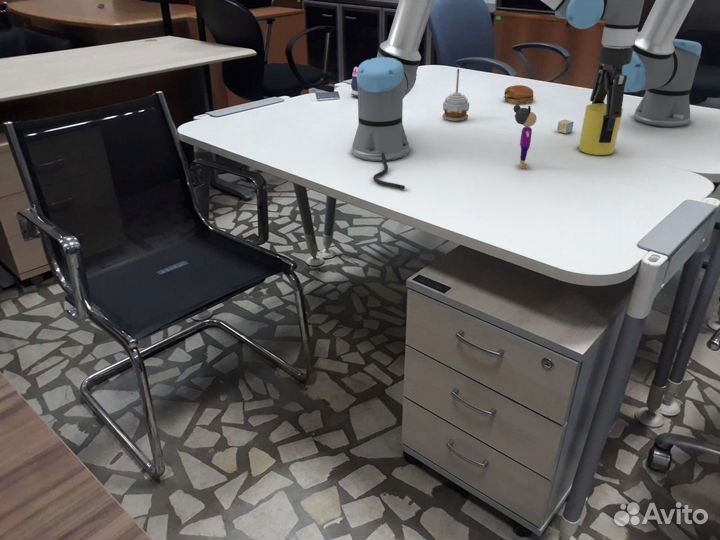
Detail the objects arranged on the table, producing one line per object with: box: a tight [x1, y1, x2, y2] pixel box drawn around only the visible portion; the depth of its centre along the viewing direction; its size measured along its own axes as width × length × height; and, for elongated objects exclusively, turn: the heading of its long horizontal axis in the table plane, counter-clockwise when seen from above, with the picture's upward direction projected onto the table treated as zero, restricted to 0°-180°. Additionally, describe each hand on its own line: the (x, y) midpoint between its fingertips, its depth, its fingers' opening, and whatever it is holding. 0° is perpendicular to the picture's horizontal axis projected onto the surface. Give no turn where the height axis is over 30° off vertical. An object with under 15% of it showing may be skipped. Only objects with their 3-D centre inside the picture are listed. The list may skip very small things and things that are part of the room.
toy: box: [512, 104, 537, 169], centre depth 139 cm, size 10×6×15 cm, turn 168°
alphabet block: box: [557, 119, 574, 134], centre depth 165 cm, size 3×3×3 cm
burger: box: [503, 84, 534, 105], centre depth 195 cm, size 10×9×5 cm
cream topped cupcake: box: [442, 68, 470, 122], centre depth 176 cm, size 8×8×15 cm
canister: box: [578, 103, 624, 156], centre depth 149 cm, size 9×9×11 cm
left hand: (598, 136), depth 150 cm, fingers closed on canister, 9 cm apart
